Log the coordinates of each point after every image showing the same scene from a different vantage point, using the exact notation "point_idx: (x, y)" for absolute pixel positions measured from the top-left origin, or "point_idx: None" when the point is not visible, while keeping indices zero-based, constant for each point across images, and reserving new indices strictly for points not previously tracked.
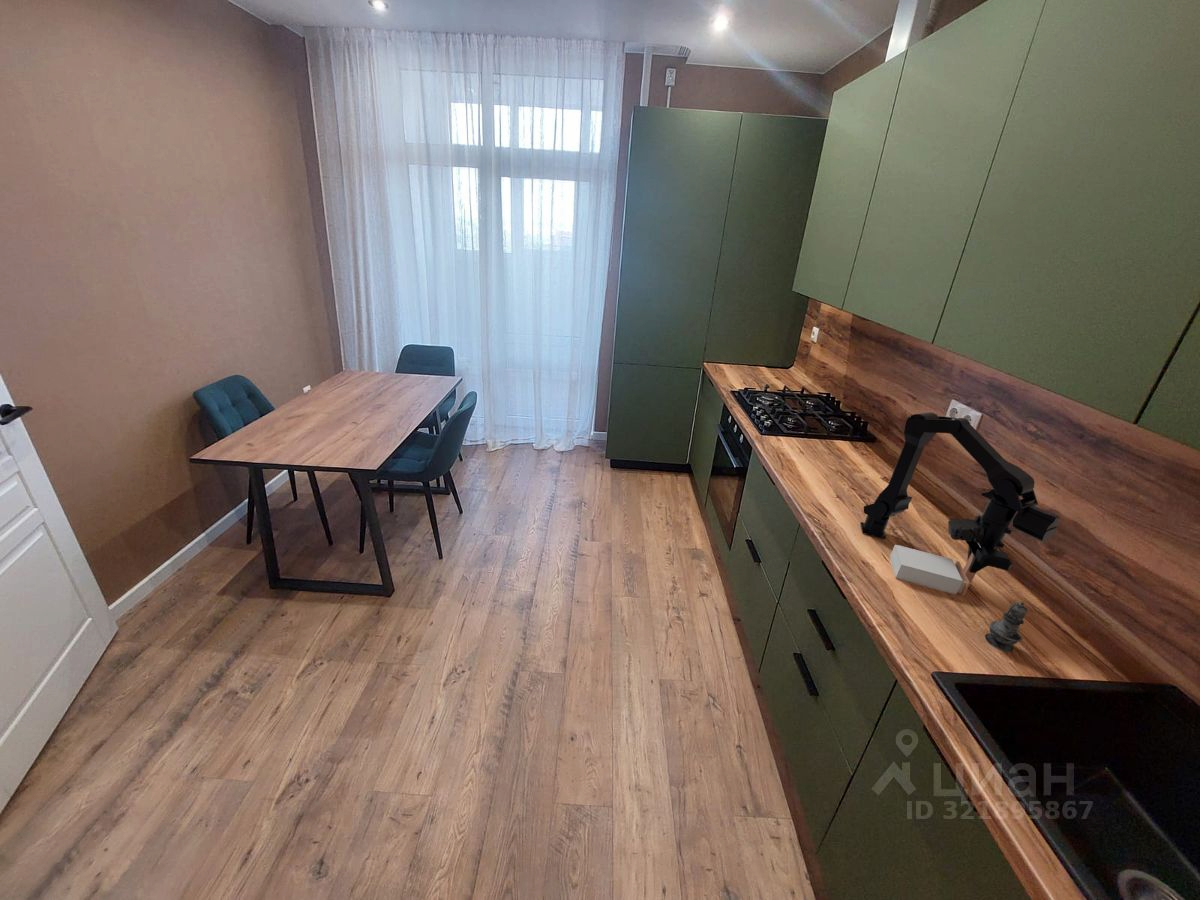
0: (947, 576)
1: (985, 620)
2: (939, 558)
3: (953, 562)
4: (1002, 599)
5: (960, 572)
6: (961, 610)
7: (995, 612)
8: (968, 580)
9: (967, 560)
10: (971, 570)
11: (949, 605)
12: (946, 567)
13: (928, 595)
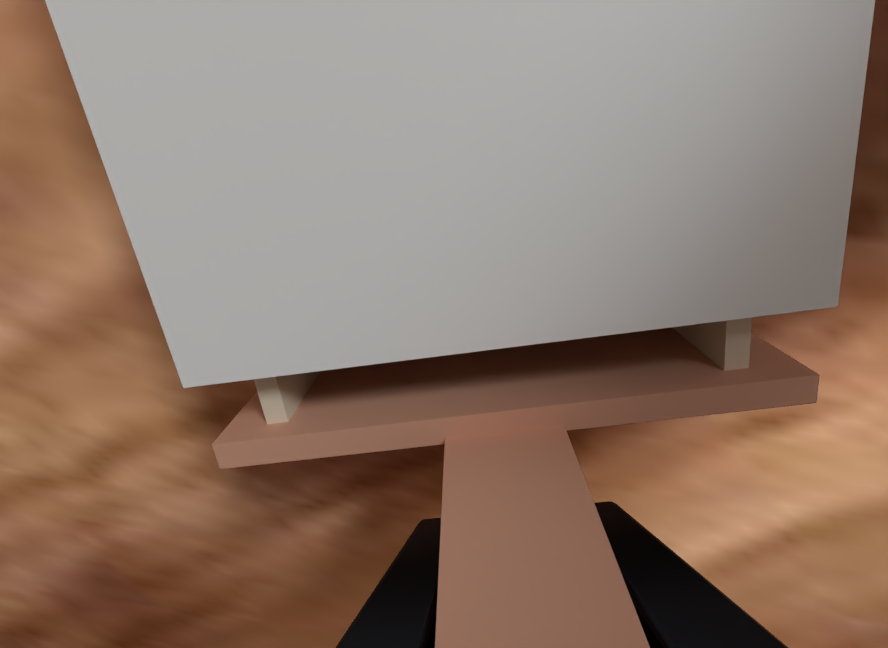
0: (115, 167)
1: (63, 484)
2: (746, 66)
3: (717, 314)
4: None
5: (532, 386)
6: (39, 326)
7: (251, 561)
8: (294, 459)
9: (660, 566)
10: (403, 558)
11: (24, 228)
12: (445, 177)
13: (19, 10)
